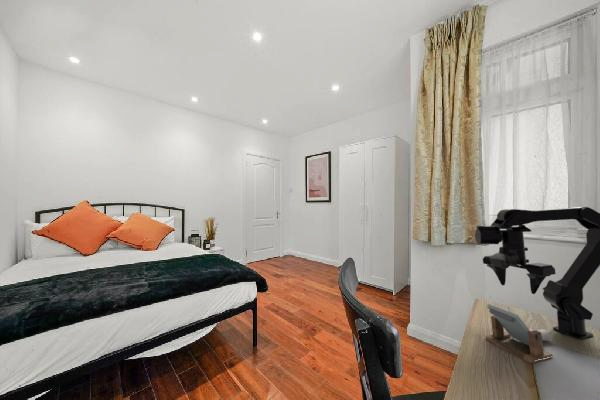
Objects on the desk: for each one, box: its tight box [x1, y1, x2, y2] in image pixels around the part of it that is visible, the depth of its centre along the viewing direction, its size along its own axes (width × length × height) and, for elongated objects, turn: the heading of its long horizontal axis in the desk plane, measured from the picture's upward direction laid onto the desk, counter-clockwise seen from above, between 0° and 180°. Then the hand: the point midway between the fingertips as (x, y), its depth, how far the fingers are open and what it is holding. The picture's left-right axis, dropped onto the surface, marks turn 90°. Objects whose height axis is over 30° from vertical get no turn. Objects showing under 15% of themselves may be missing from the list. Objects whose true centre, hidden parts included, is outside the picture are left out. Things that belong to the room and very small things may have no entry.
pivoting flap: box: [486, 303, 546, 351], centre depth 67 cm, size 14×8×2 cm
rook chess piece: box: [528, 327, 553, 342], centre depth 69 cm, size 4×4×8 cm
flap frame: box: [485, 315, 553, 364], centre depth 67 cm, size 8×12×7 cm, turn 12°
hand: (517, 289), depth 78 cm, fingers open, 9 cm apart
